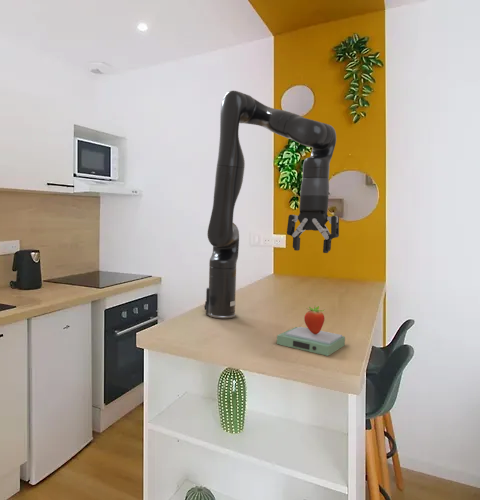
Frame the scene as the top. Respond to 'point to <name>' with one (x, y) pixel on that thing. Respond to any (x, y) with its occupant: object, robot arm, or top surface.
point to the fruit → (314, 320)
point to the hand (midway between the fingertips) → (310, 251)
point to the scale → (311, 340)
